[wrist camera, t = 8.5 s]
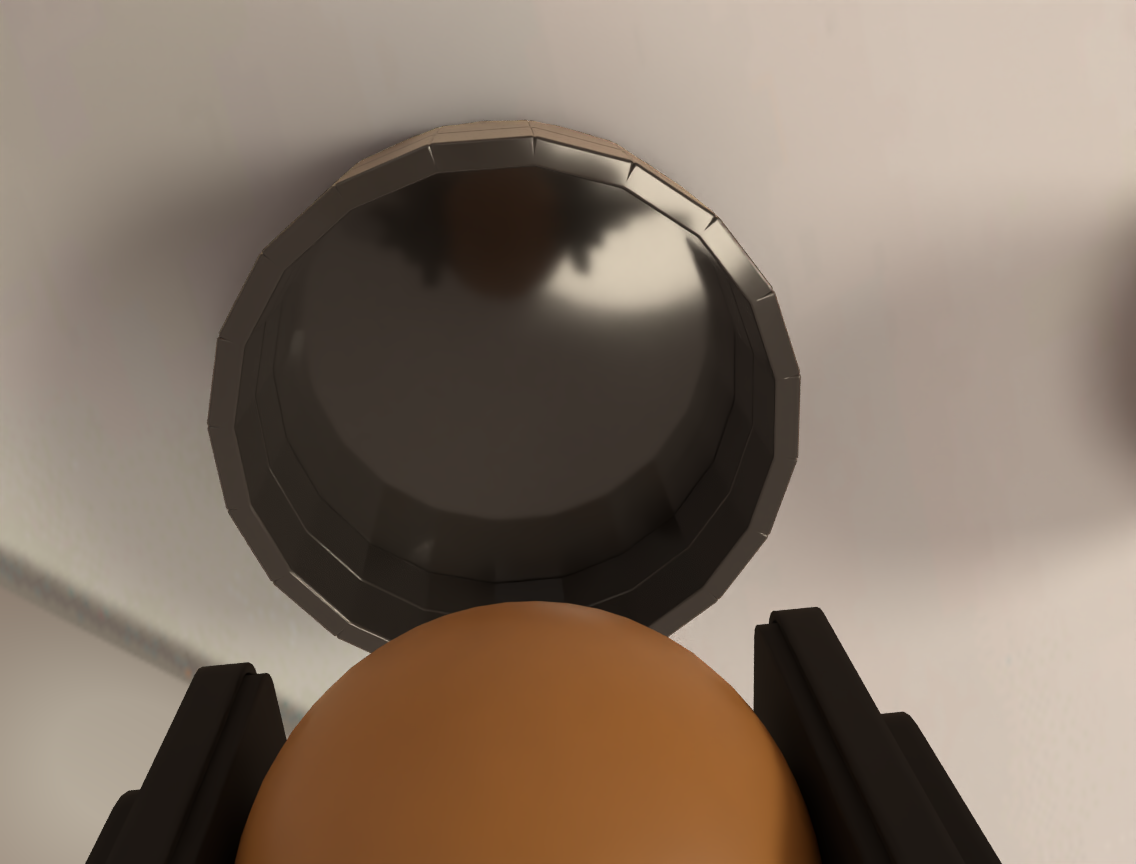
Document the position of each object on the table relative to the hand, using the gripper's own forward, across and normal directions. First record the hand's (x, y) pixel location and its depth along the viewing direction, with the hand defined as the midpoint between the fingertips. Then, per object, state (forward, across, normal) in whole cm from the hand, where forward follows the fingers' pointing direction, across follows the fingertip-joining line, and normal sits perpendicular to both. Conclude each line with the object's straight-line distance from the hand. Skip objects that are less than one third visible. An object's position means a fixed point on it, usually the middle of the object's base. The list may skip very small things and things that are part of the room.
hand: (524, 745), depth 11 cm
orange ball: (+1, 0, 0) cm, 1 cm away
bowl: (+15, 0, +1) cm, 15 cm away
